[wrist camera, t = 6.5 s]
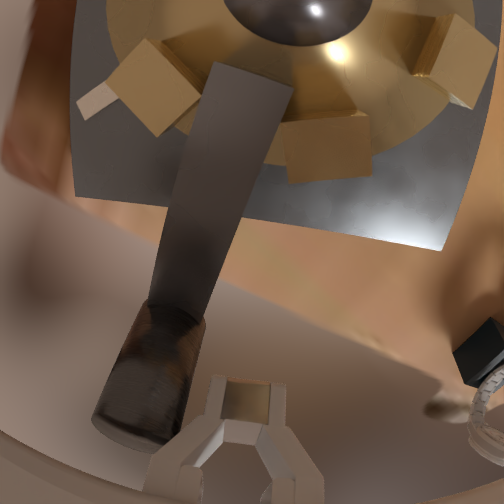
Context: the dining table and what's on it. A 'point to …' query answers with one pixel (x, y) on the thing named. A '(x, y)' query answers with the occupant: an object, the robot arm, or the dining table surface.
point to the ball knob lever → (261, 141)
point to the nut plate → (275, 176)
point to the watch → (483, 385)
